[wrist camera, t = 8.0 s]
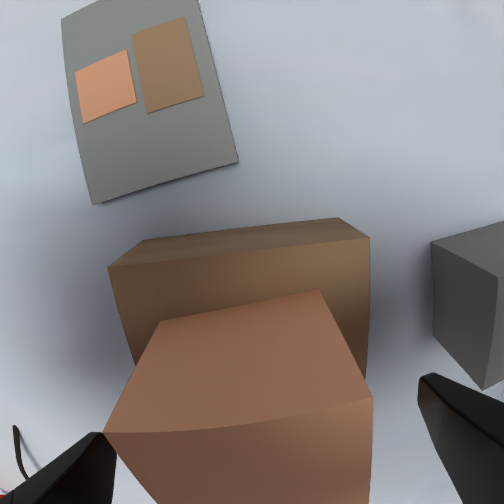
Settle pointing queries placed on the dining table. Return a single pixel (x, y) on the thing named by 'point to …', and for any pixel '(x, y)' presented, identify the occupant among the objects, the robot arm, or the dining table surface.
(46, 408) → the dining table surface
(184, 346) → the terracotta block
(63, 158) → the dining table surface
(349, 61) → the dining table surface
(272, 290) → the walnut block
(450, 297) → the charcoal block
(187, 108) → the card
